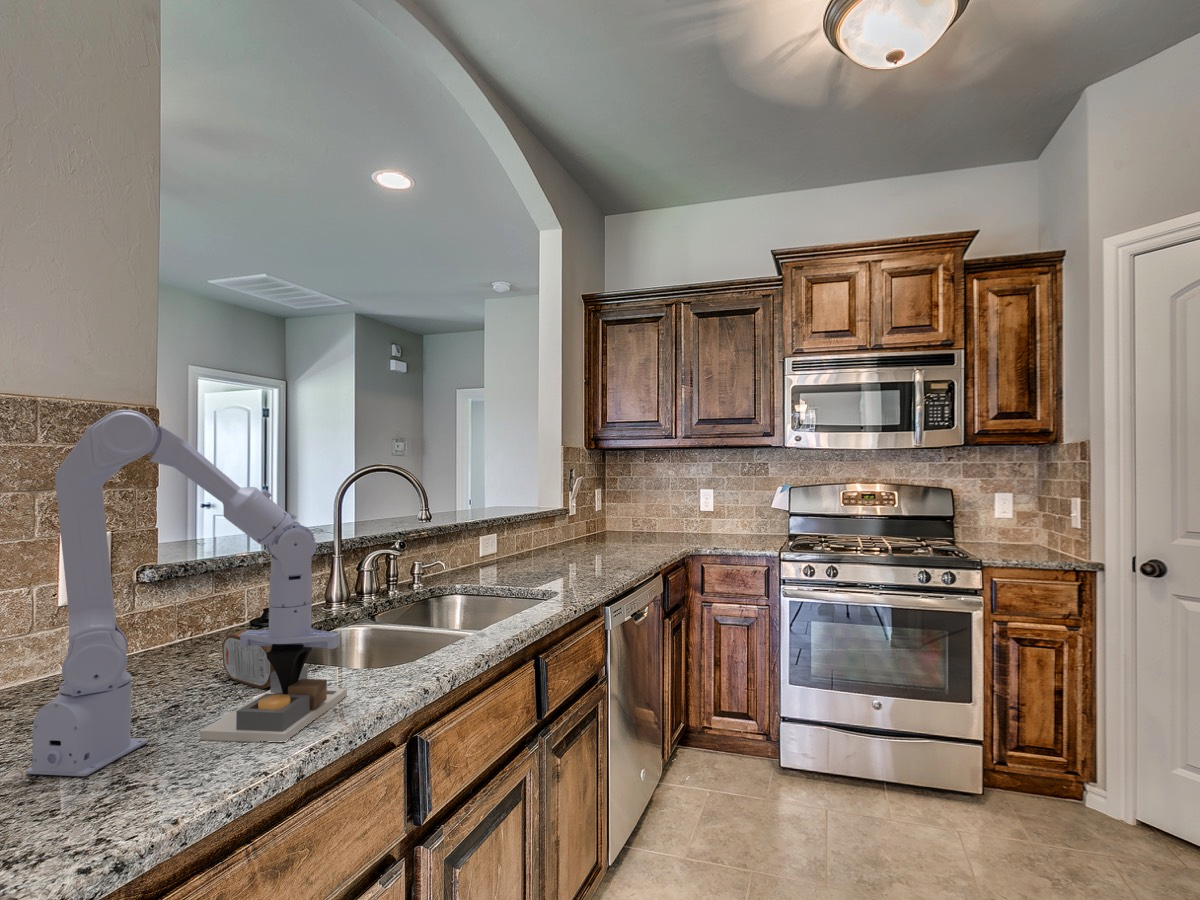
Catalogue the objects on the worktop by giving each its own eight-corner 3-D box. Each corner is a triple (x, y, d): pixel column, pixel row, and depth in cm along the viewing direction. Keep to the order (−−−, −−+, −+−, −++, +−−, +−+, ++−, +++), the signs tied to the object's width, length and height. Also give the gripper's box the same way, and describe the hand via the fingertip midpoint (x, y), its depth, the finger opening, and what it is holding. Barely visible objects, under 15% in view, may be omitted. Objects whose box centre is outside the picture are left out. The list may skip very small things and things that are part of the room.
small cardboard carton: (314, 708, 92) (314, 687, 92) (287, 707, 92) (288, 686, 92) (326, 699, 95) (326, 679, 95) (301, 698, 96) (301, 678, 96)
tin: (288, 688, 105) (288, 637, 105) (269, 694, 102) (270, 642, 102) (236, 673, 112) (236, 625, 113) (218, 678, 110) (218, 629, 110)
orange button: (279, 724, 86) (279, 705, 86) (251, 723, 87) (251, 704, 87) (296, 712, 90) (296, 694, 90) (269, 711, 91) (269, 694, 91)
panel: (284, 743, 84) (284, 715, 84) (199, 739, 85) (200, 712, 85) (346, 696, 101) (347, 672, 101) (275, 693, 102) (275, 670, 102)
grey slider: (294, 693, 98) (295, 673, 98) (270, 692, 98) (270, 673, 98) (307, 685, 101) (307, 666, 101) (283, 684, 102) (283, 666, 102)
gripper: (350, 598, 98) (349, 687, 97) (261, 596, 99) (260, 684, 99) (326, 609, 91) (325, 704, 90) (231, 607, 92) (230, 701, 92)
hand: (289, 695), depth 94 cm, fingers closed
